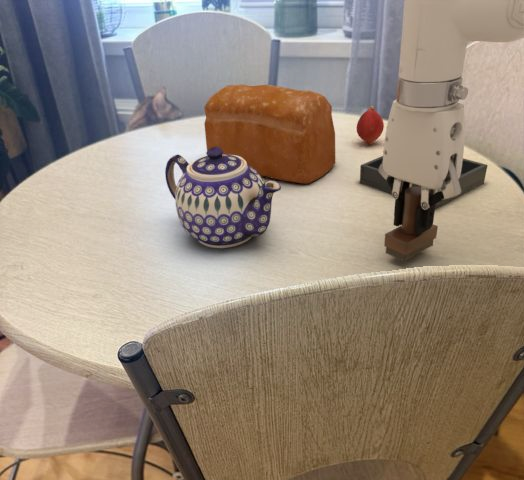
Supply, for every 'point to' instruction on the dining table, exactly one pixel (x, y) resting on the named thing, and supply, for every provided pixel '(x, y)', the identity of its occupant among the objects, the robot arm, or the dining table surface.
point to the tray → (468, 180)
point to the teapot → (220, 198)
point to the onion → (370, 126)
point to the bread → (273, 130)
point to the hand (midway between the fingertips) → (412, 225)
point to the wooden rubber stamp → (409, 230)
